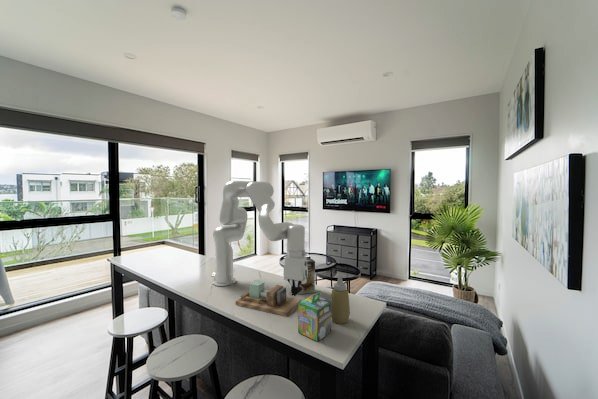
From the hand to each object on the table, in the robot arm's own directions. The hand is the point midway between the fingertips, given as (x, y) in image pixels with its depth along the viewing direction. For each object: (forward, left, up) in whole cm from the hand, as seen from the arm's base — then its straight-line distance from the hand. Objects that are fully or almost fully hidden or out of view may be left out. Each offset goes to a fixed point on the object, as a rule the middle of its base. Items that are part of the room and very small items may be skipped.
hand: (294, 294), depth 111 cm
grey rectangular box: (-11, -1, -4) cm, 11 cm away
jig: (-12, -1, -6) cm, 14 cm away
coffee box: (-3, +19, -6) cm, 20 cm away
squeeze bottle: (+21, -2, -6) cm, 22 cm away
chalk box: (+15, -14, -6) cm, 21 cm away
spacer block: (-19, -1, -4) cm, 19 cm away
